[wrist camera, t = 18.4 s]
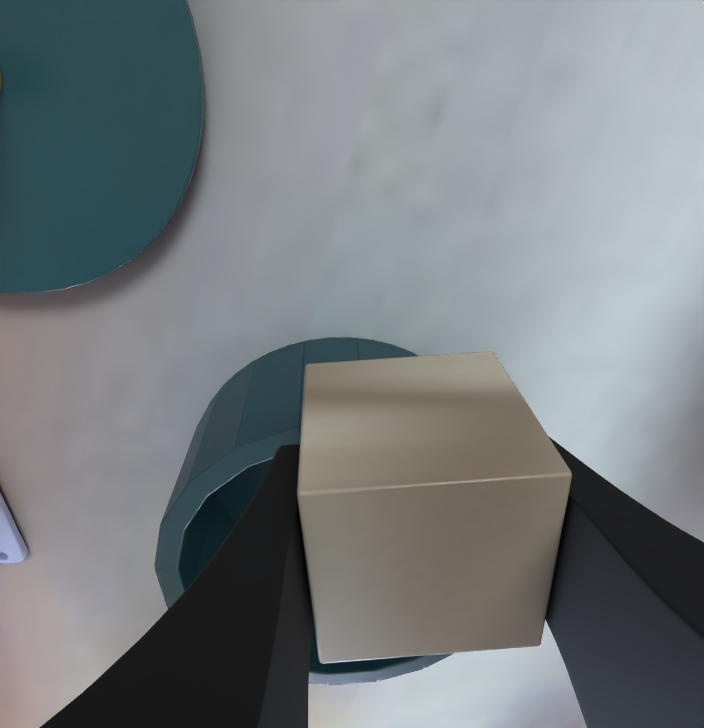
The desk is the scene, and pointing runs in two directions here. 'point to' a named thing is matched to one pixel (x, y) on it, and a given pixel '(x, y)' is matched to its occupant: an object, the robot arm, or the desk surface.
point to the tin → (255, 477)
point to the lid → (92, 134)
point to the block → (426, 507)
